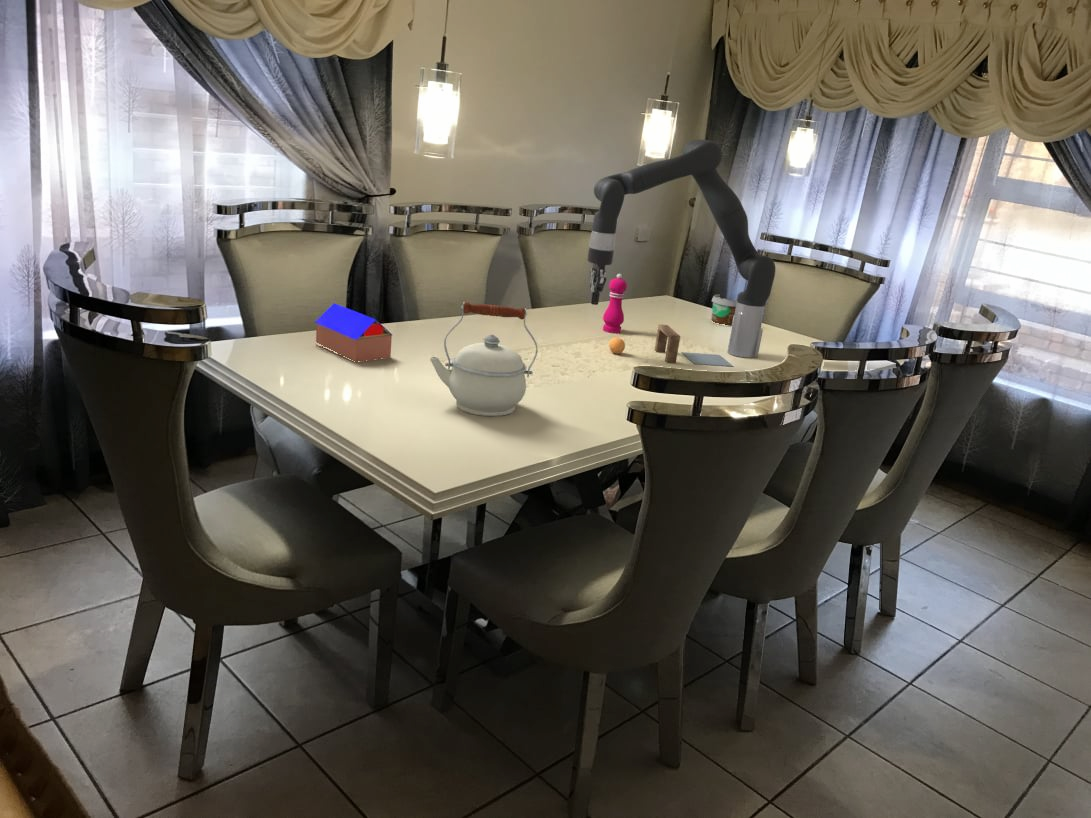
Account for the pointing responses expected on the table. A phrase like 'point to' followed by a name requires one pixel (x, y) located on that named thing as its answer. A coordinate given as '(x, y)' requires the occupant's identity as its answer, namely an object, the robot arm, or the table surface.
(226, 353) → the table surface
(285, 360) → the table surface
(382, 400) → the table surface
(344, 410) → the table surface
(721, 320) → the food container
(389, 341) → the house
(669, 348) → the bridge
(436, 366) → the kettle
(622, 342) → the ball
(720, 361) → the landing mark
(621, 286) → the pepper mill
